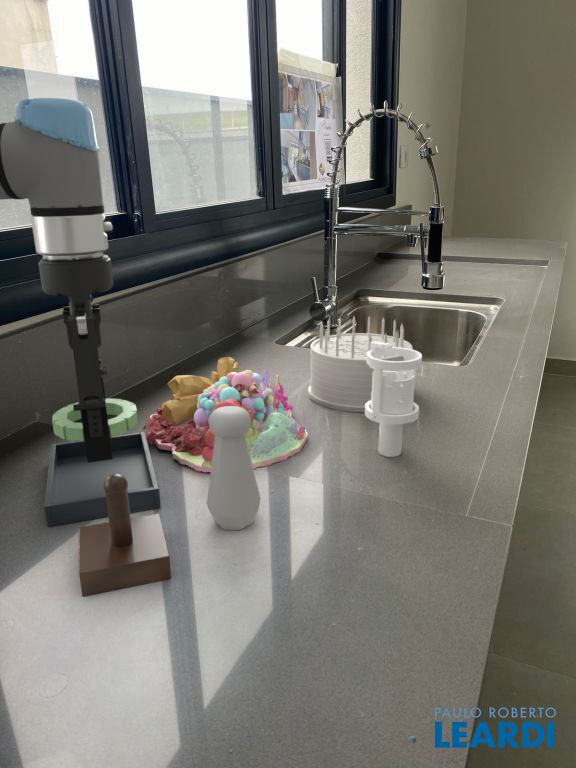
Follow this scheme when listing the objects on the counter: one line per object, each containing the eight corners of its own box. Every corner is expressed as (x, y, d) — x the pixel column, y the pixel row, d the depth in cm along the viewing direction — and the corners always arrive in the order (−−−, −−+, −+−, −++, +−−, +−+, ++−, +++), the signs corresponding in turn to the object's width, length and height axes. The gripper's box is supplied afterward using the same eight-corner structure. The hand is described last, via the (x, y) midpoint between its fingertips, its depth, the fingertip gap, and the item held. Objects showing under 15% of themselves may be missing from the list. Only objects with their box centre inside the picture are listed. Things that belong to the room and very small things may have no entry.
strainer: (384, 436, 87) (388, 335, 82) (426, 451, 82) (433, 345, 77) (353, 452, 82) (355, 346, 78) (395, 468, 78) (401, 356, 73)
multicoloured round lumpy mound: (114, 433, 89) (107, 374, 86) (233, 393, 106) (230, 341, 103) (227, 488, 73) (223, 417, 70) (346, 430, 89) (347, 371, 86)
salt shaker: (272, 519, 66) (269, 409, 62) (233, 541, 63) (227, 425, 58) (236, 501, 70) (231, 396, 66) (197, 521, 66) (189, 411, 62)
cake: (431, 390, 106) (436, 315, 101) (375, 420, 93) (378, 336, 88) (347, 371, 117) (348, 303, 112) (286, 396, 104) (285, 320, 100)
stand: (82, 596, 55) (68, 503, 51) (82, 548, 62) (69, 463, 59) (171, 578, 57) (163, 487, 54) (161, 533, 64) (153, 451, 61)
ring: (52, 446, 67) (50, 433, 66) (55, 415, 76) (54, 403, 75) (141, 434, 70) (139, 421, 69) (134, 406, 78) (133, 394, 78)
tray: (47, 527, 66) (44, 507, 65) (53, 461, 81) (51, 443, 80) (160, 507, 69) (159, 488, 68) (146, 448, 85) (144, 431, 84)
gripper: (114, 265, 57) (138, 477, 64) (106, 243, 77) (124, 407, 84) (29, 270, 55) (63, 489, 62) (43, 247, 75) (68, 414, 82)
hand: (98, 442), depth 73 cm, fingers closed on ring, 10 cm apart
